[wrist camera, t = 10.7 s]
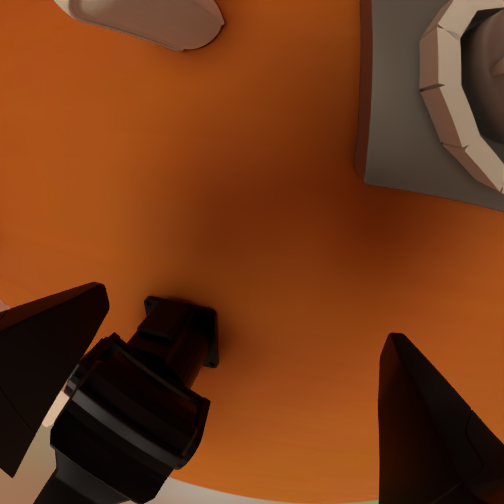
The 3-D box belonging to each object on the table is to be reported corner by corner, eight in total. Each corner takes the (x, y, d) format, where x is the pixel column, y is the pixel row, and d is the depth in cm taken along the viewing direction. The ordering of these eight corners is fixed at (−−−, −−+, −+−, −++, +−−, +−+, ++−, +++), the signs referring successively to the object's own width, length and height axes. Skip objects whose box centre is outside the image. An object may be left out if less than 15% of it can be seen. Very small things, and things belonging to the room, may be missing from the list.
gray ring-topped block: (527, 205, 14) (588, 247, 8) (353, 167, 17) (371, 197, 10) (536, 51, 9) (599, 42, 3) (359, -10, 12) (372, -72, 5)
